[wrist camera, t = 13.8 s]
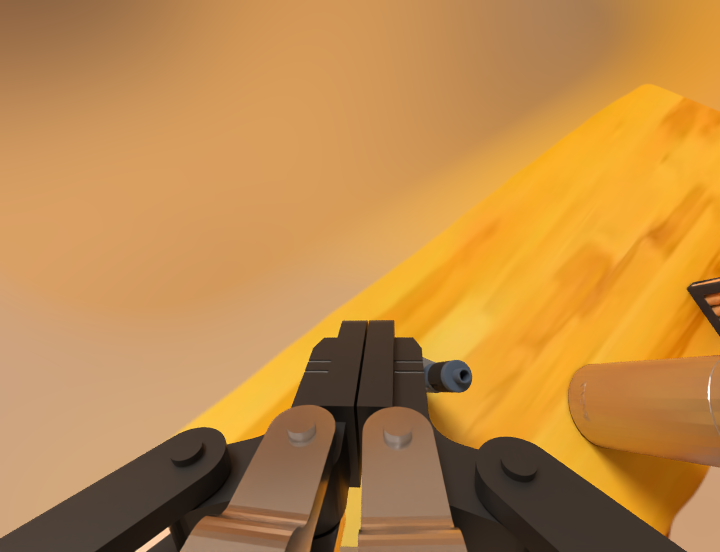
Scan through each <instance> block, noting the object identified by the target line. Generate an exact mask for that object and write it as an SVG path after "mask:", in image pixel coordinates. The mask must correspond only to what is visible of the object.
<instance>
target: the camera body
mask: <svg viewBox="0 0 720 552" xmlns="http://www.w3.org/2000/svg"><path fill="white" fill-rule="evenodd" d="M339 552H358V547H340V551H339Z"/></svg>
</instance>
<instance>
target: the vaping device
mask: <svg viewBox="0 0 720 552" xmlns="http://www.w3.org/2000/svg"><path fill="white" fill-rule="evenodd" d="M423 367H424V376H425V386H426V392H430V393H439V392H458V393H459V392H464V391H466V390H467V389H468V388H469V387H470V385H471V382H472V373H471V370H470V368H469V367H468V366H467V364H465V363H464V362H462V361H460V360H453V361H445V362H438V363H435V362H433V361H430V360H428V359H426V358H423Z"/></svg>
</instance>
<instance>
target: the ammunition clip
mask: <svg viewBox="0 0 720 552" xmlns="http://www.w3.org/2000/svg"><path fill="white" fill-rule="evenodd" d="M687 290H688V292H689V293H690V295H691V296H692V297H693V299H694V300H695V302H696V303H697V305H698V306H699V307H700V309H701V310H702V312H703V313H704V315H705V316H706V317H707V319H708V320H709V322H710V323H711V325H712V326H713V327H714V329H715V330H716V332H717V333H718V334H719V336H720V277H719V278H714V279H708V280H703V281H698V282H693V283H692V284H691V285H690V286H689V287H688V288H687Z"/></svg>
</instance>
